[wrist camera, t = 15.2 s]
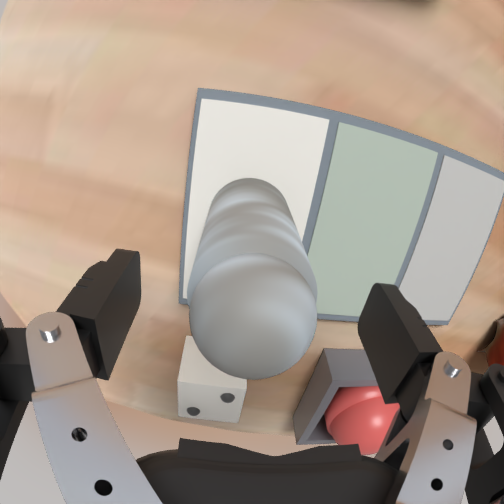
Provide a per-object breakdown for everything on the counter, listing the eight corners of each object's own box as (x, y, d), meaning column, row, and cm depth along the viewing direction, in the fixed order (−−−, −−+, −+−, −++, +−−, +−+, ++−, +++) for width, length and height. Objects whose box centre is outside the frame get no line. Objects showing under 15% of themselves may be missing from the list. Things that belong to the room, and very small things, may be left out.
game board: (505, 173, 15) (510, 176, 15) (444, 321, 20) (448, 325, 20) (199, 88, 13) (197, 87, 13) (180, 298, 19) (178, 304, 18)
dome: (406, 364, 22) (432, 421, 17) (375, 409, 25) (391, 462, 20) (336, 364, 21) (354, 432, 16) (311, 412, 24) (321, 471, 19)
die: (246, 342, 20) (246, 393, 17) (238, 379, 22) (238, 427, 18) (186, 335, 20) (176, 385, 16) (185, 373, 22) (177, 420, 18)
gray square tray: (423, 349, 22) (438, 375, 19) (379, 413, 26) (387, 437, 23) (324, 348, 21) (332, 380, 18) (292, 416, 25) (296, 444, 22)
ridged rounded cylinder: (296, 184, 15) (361, 305, 6) (280, 256, 17) (310, 410, 8) (214, 172, 15) (172, 283, 6) (205, 246, 16) (172, 399, 8)
